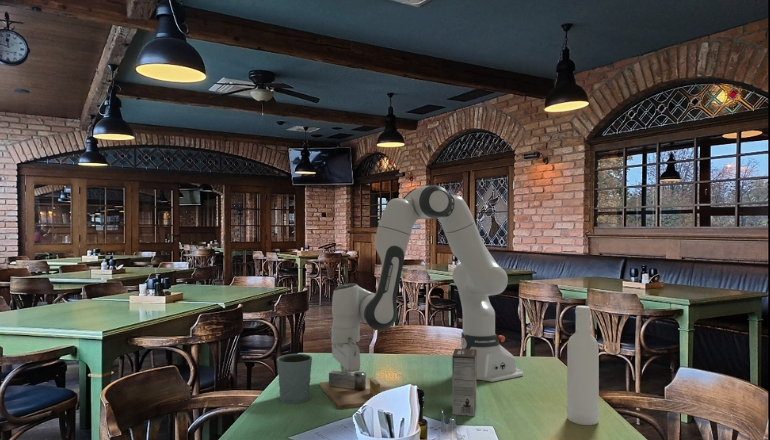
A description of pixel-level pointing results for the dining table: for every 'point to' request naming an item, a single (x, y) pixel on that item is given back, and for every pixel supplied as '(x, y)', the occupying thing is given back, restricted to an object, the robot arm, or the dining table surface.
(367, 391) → the plate
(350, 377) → the swing bar
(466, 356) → the coffee box
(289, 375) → the grey cup
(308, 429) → the dining table surface
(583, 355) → the bottle
